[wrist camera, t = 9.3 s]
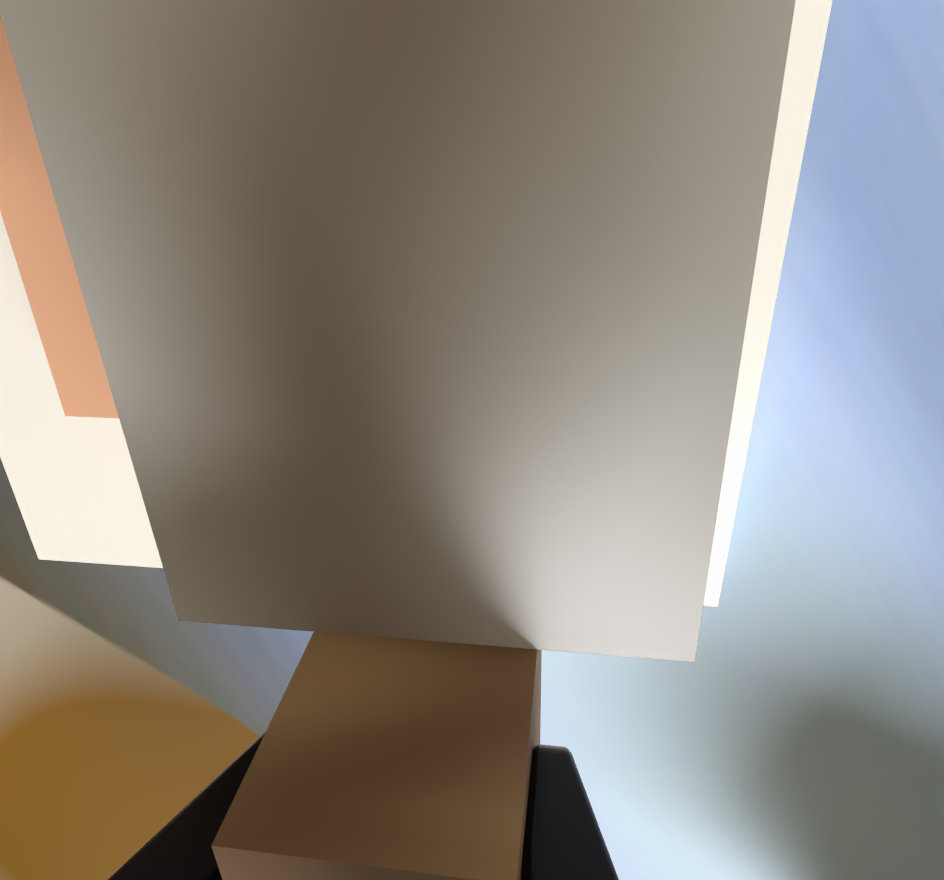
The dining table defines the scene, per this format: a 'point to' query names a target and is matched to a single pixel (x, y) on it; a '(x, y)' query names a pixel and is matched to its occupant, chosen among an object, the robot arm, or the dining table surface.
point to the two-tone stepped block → (415, 361)
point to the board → (105, 449)
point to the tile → (46, 256)
